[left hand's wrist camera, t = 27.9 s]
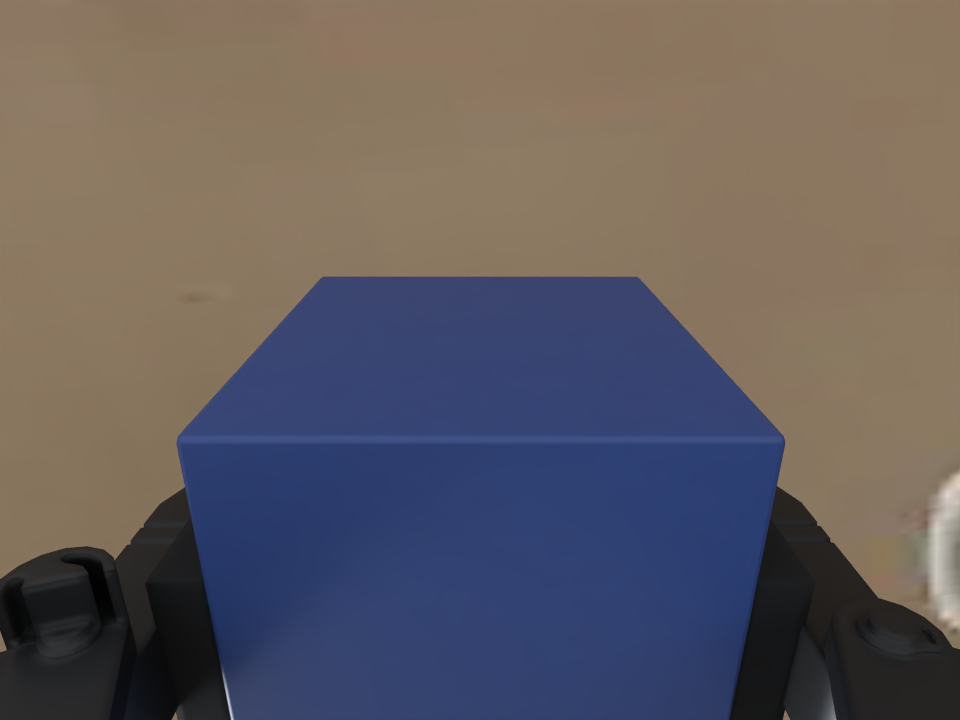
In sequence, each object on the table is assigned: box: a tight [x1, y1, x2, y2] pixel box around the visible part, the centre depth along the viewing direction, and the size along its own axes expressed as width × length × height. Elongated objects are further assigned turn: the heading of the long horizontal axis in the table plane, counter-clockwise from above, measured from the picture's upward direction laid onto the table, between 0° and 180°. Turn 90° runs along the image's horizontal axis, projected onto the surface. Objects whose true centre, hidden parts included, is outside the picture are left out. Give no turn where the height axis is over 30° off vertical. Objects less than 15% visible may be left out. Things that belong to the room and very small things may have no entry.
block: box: [177, 277, 785, 720], centre depth 12 cm, size 7×7×7 cm
